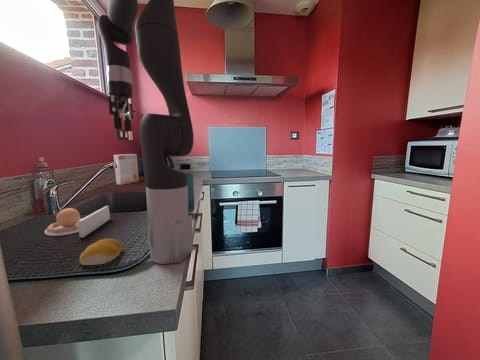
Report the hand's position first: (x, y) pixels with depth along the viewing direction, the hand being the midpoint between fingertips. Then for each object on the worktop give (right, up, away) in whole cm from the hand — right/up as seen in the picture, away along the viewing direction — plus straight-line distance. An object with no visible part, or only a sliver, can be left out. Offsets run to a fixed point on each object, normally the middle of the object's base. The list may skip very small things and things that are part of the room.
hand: (123, 130), depth 77 cm
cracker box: (-38, -21, +76) cm, 88 cm away
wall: (-5, -34, -7) cm, 35 cm away
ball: (-13, -30, -8) cm, 34 cm away
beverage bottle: (+21, -32, +7) cm, 39 cm away
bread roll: (+9, -37, -26) cm, 46 cm away
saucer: (-13, -34, -8) cm, 37 cm away
